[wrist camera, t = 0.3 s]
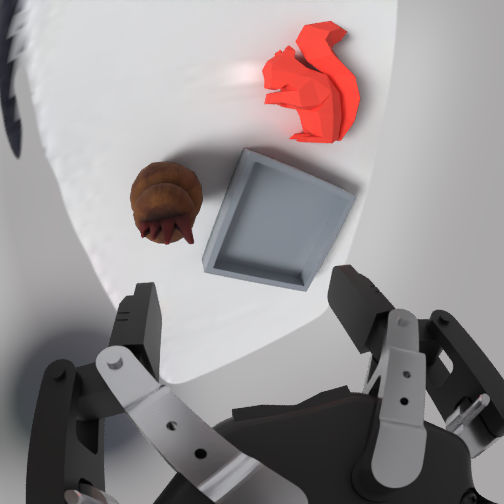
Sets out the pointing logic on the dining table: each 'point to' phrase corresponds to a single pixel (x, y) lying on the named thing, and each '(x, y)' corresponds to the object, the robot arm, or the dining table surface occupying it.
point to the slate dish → (275, 224)
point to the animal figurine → (315, 85)
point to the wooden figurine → (166, 202)
